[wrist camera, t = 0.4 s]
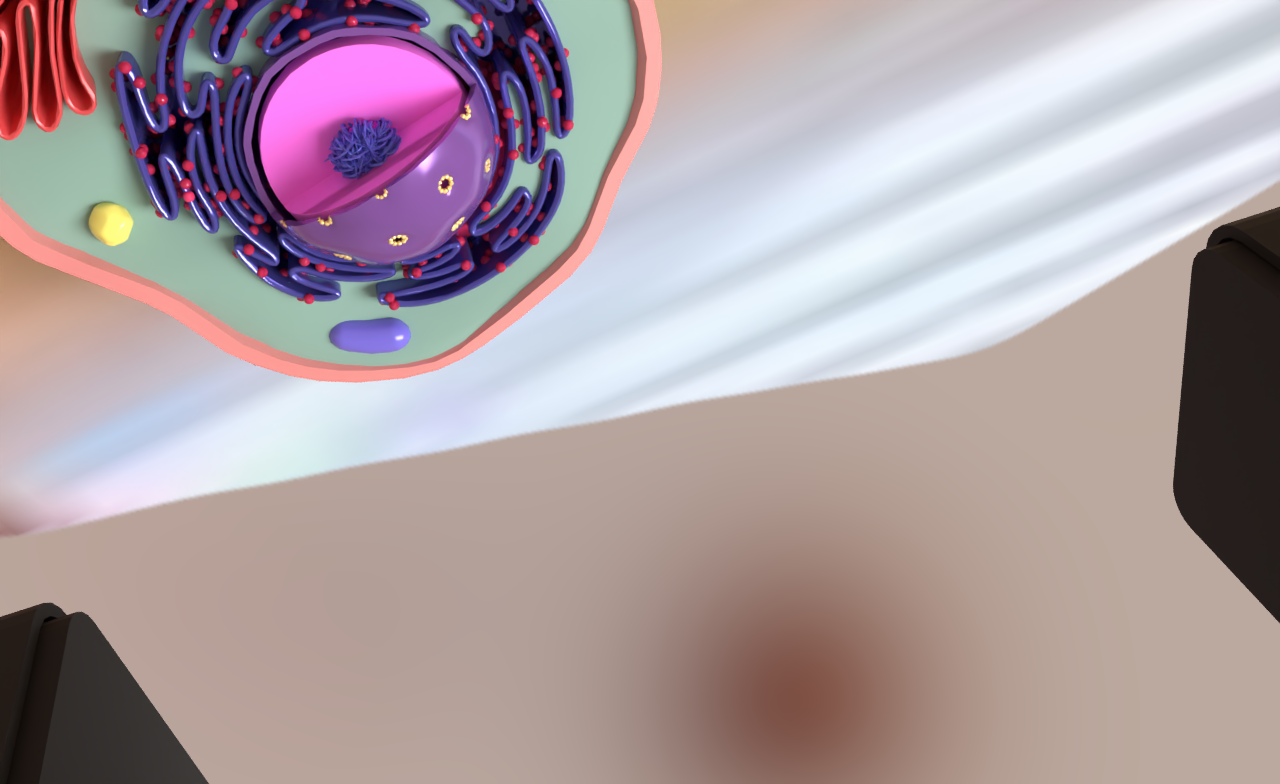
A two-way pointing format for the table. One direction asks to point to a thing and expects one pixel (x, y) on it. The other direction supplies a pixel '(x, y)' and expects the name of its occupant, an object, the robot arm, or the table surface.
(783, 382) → the table surface
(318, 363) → the cell model
